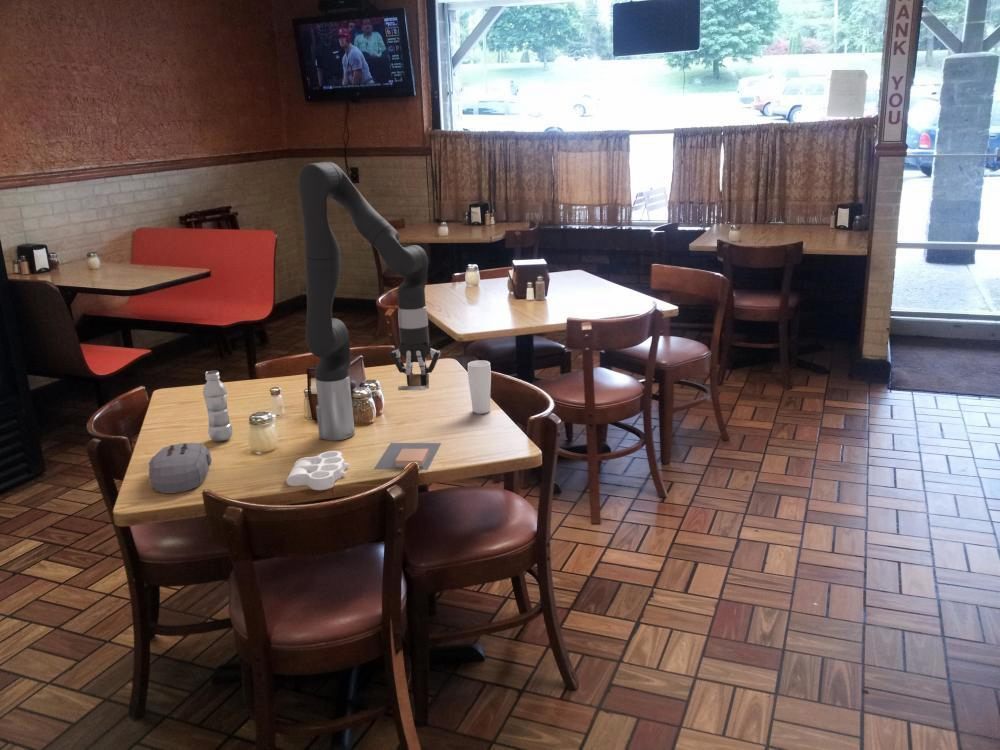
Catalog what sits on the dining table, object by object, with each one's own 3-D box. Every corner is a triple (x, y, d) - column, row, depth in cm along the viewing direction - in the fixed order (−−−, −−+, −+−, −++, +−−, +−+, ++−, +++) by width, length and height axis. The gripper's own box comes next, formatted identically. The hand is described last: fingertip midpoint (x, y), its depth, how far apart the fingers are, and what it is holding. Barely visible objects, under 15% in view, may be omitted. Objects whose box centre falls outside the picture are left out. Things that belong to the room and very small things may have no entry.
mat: (373, 470, 224) (373, 468, 224) (391, 444, 241) (390, 442, 241) (427, 471, 223) (427, 469, 222) (441, 444, 240) (441, 443, 239)
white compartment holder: (299, 464, 232) (355, 461, 232) (284, 493, 215) (344, 490, 215) (297, 452, 231) (353, 449, 231) (282, 480, 214) (342, 477, 214)
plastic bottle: (223, 434, 255) (213, 367, 250) (238, 438, 252) (229, 371, 246) (204, 441, 250) (194, 373, 245) (220, 445, 247) (209, 377, 241)
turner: (398, 390, 225) (398, 374, 225) (413, 388, 242) (413, 373, 242) (421, 390, 225) (421, 374, 224) (435, 388, 241) (434, 373, 241)
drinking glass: (490, 415, 260) (487, 366, 256) (467, 415, 262) (464, 366, 257) (494, 408, 267) (492, 360, 262) (473, 407, 268) (470, 359, 264)
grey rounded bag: (156, 469, 233) (143, 500, 214) (151, 439, 230) (138, 468, 212) (216, 462, 236) (208, 492, 217) (211, 432, 233) (203, 460, 214)
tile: (402, 455, 232) (395, 467, 224) (402, 448, 231) (395, 460, 224) (429, 455, 231) (422, 467, 223) (428, 448, 230) (422, 460, 223)
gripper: (383, 327, 226) (388, 391, 231) (436, 327, 224) (441, 392, 229) (390, 320, 233) (395, 383, 238) (442, 320, 231) (446, 383, 237)
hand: (417, 387), depth 234 cm, fingers closed on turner, 2 cm apart
